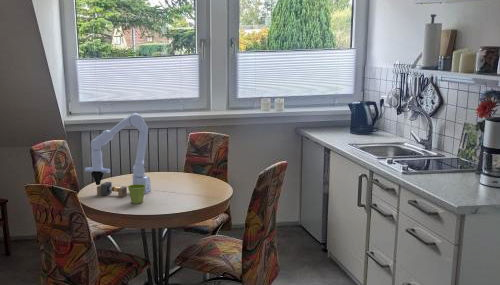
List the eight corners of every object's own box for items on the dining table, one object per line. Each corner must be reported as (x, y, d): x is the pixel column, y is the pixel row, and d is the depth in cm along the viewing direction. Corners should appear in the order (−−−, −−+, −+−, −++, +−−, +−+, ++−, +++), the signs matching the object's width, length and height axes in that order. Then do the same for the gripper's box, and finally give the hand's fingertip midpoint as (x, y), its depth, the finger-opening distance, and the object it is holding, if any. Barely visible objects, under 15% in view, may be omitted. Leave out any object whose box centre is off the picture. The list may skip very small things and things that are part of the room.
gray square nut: (111, 192, 293) (111, 182, 292) (106, 195, 287) (105, 184, 286) (107, 192, 294) (106, 181, 293) (101, 195, 288) (100, 184, 287)
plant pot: (130, 199, 281) (130, 183, 279) (148, 199, 280) (147, 184, 279) (125, 204, 271) (125, 188, 270) (144, 205, 271) (143, 188, 270)
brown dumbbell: (126, 194, 290) (126, 186, 289) (122, 197, 285) (122, 188, 284) (102, 192, 294) (101, 184, 293) (97, 195, 289) (96, 186, 289)
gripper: (112, 160, 291) (113, 183, 293) (89, 158, 294) (90, 182, 297) (105, 162, 284) (106, 187, 286) (82, 161, 288) (83, 185, 290)
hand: (98, 184), depth 291 cm, fingers closed
